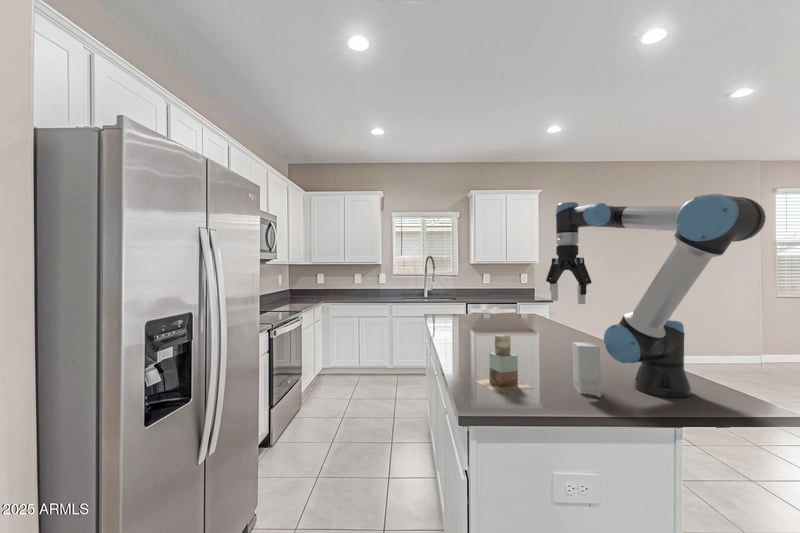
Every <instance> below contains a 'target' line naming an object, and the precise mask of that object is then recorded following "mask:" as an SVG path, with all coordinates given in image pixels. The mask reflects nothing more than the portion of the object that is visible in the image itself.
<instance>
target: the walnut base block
mask: <svg viewBox="0 0 800 533" xmlns="http://www.w3.org/2000/svg"><path fill="white" fill-rule="evenodd" d="M518 371H519V370H518ZM518 371H511V372H502V373H500V372H498V371H496V370H494V369H491V368H490V367H489V379H490V383H491V384H493V385H495V386H497V387H499V388H506V387H514V386H518V381H519V378H518V376H519V375H518Z"/></svg>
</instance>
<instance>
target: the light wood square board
mask: <svg viewBox="0 0 800 533" xmlns="http://www.w3.org/2000/svg"><path fill="white" fill-rule="evenodd" d="M474 382H476V383H478V384H479V385H481V386H483V387H485V388H487V389H488V390H490V391H492V392H494V393H496V394H500V393H507V392H509V393H510V392H515V391H516V392H517V391H525V390H531V389H532V390H533V389H535V387H533V386H531V385H528V384H526V383H524V382H522V381H519V380H518V386H514V387H506V388H499V387H497V386H495V385H493V384H491V383H490V378H486V379H477V380H474Z"/></svg>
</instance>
